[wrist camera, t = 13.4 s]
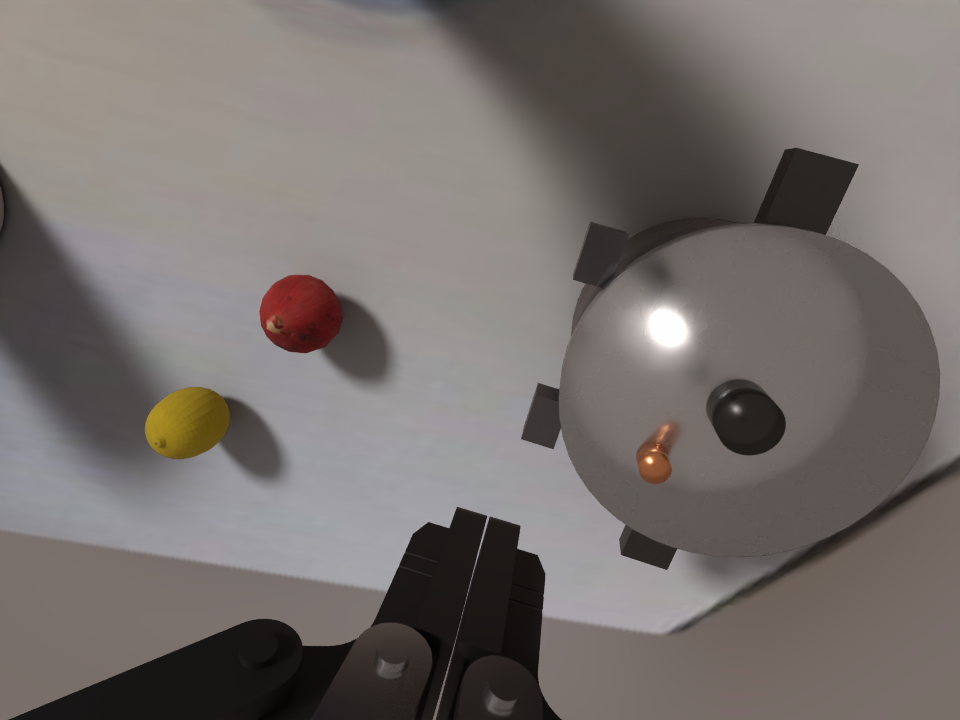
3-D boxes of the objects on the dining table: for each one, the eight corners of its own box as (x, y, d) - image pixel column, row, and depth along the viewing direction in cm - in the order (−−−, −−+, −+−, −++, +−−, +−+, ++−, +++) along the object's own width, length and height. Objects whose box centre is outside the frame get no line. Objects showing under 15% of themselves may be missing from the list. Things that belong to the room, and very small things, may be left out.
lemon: (184, 413, 51) (116, 453, 43) (201, 363, 49) (132, 397, 41) (237, 442, 51) (177, 487, 43) (255, 394, 49) (197, 432, 41)
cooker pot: (615, 124, 37) (631, 100, 26) (887, 198, 36) (1027, 205, 25) (514, 440, 46) (493, 524, 35) (731, 509, 45) (783, 620, 33)
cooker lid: (623, 179, 27) (630, 179, 23) (998, 283, 26) (1067, 300, 22) (521, 483, 33) (514, 521, 30) (820, 580, 32) (851, 632, 28)
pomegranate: (370, 304, 44) (328, 329, 37) (328, 352, 46) (280, 385, 39) (317, 253, 44) (263, 268, 36) (276, 303, 46) (217, 327, 38)
